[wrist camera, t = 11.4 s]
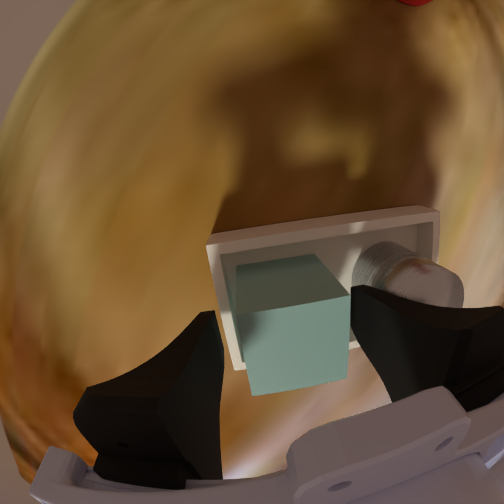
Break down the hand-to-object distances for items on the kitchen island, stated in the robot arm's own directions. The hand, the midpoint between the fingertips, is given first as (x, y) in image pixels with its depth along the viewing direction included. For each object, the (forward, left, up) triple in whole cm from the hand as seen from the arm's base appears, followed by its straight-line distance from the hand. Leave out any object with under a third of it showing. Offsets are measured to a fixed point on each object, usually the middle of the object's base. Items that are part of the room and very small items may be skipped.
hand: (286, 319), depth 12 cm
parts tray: (-3, 0, -4) cm, 5 cm away
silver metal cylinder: (-6, 0, -3) cm, 7 cm away
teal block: (0, 0, -3) cm, 3 cm away
